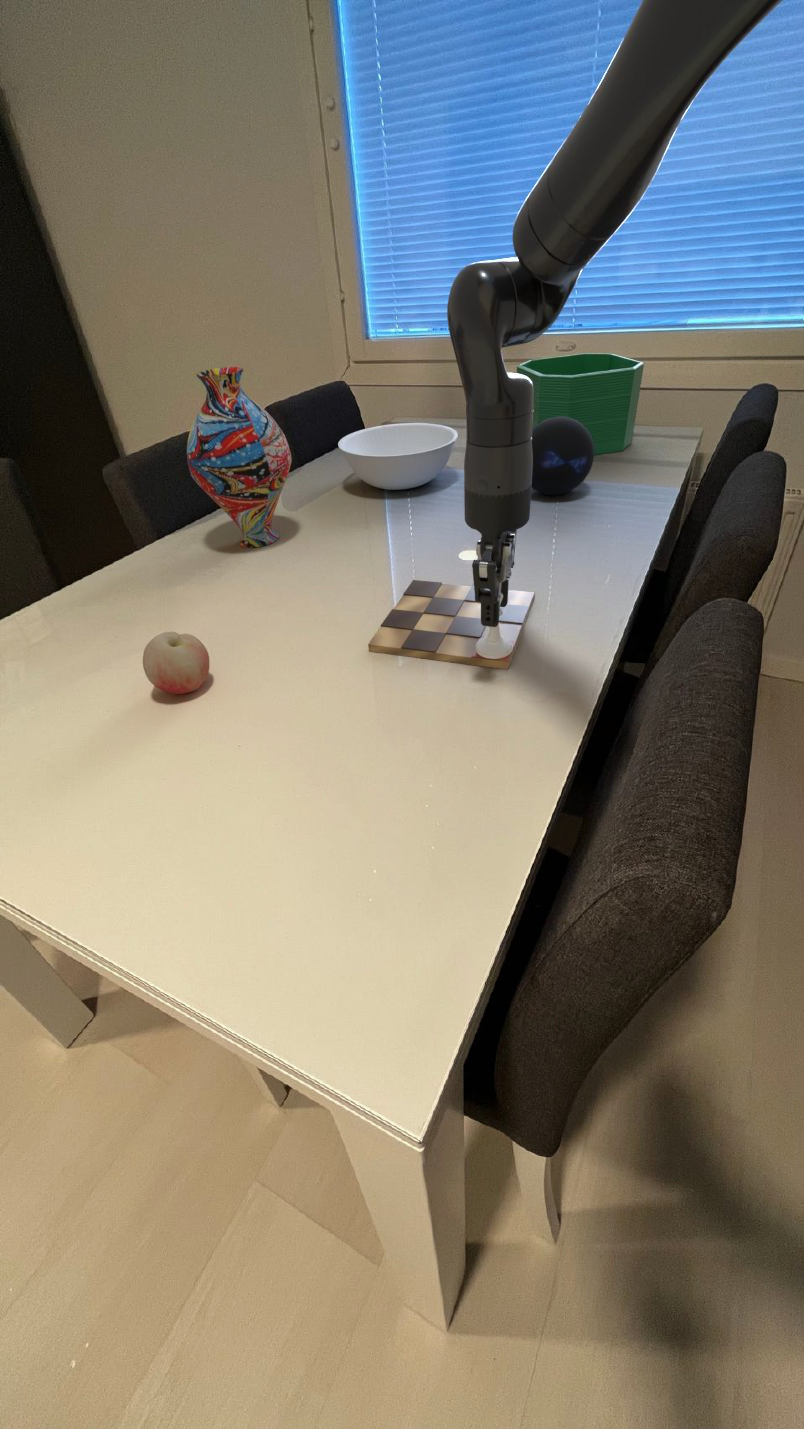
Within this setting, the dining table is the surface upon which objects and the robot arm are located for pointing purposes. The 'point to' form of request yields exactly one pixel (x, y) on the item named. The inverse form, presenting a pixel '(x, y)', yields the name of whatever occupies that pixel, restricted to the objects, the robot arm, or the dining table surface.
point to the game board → (448, 624)
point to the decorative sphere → (560, 455)
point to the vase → (238, 455)
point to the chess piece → (494, 643)
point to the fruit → (176, 662)
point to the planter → (588, 394)
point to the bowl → (399, 453)
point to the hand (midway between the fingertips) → (494, 614)
